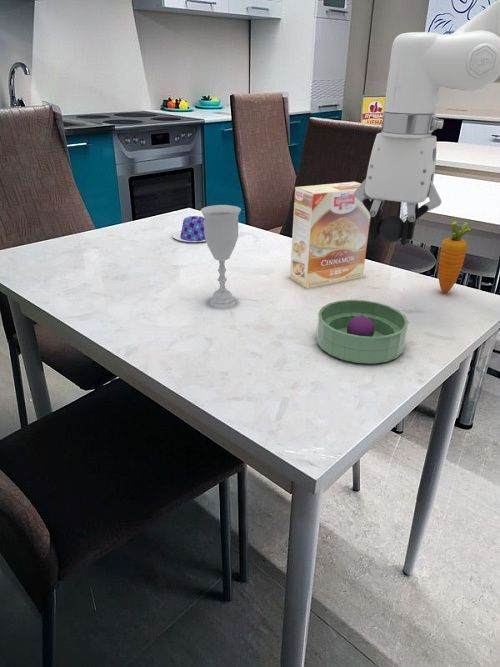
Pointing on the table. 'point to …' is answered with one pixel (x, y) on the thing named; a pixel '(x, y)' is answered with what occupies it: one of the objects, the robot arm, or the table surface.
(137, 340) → the table surface
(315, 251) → the coffeecake box
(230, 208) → the chalice
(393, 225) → the charcoal ball
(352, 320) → the plum ball
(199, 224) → the pudding
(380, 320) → the bowl
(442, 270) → the carrot
